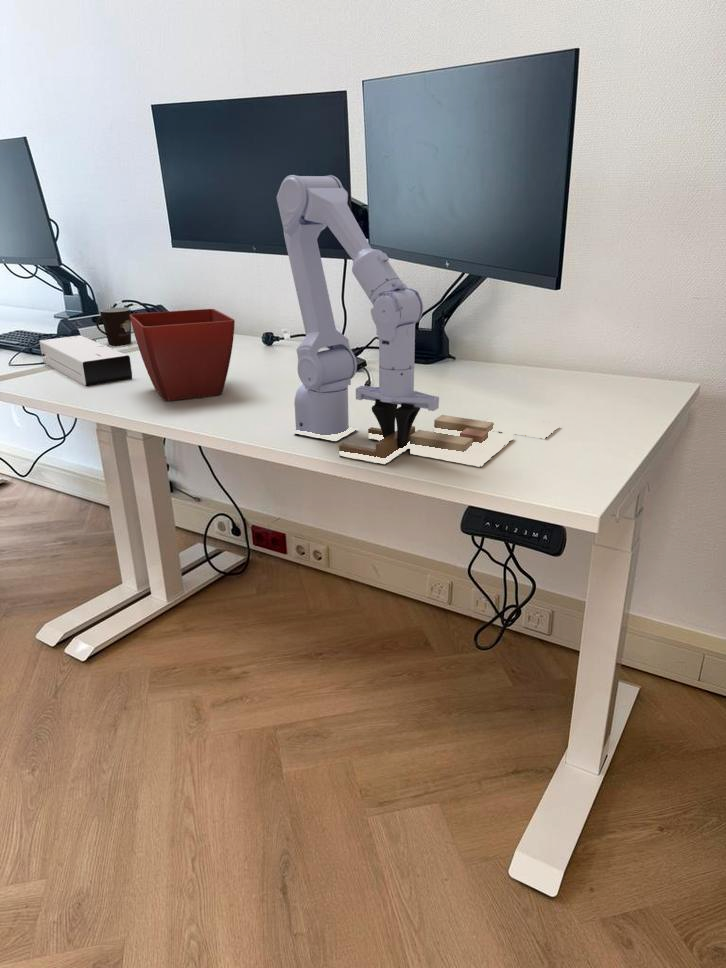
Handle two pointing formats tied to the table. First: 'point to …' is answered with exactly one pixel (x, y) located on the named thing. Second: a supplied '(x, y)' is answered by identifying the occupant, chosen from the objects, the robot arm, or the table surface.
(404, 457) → the table surface
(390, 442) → the wooden c-shaped piece
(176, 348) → the plant pot
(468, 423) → the wooden u-shaped block
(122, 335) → the coffee mug
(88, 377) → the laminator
